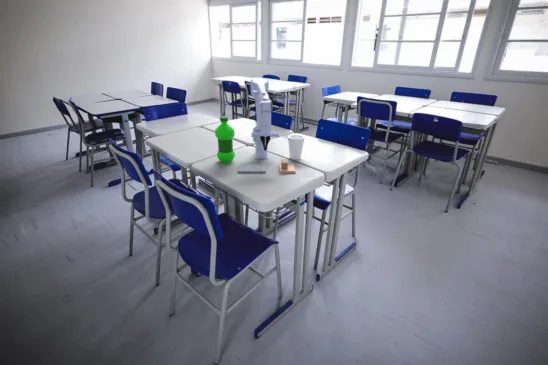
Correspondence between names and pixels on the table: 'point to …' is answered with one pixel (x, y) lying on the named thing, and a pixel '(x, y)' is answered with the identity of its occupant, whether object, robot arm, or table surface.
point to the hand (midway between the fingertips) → (265, 149)
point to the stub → (286, 167)
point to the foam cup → (295, 146)
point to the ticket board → (251, 168)
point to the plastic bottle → (225, 141)
